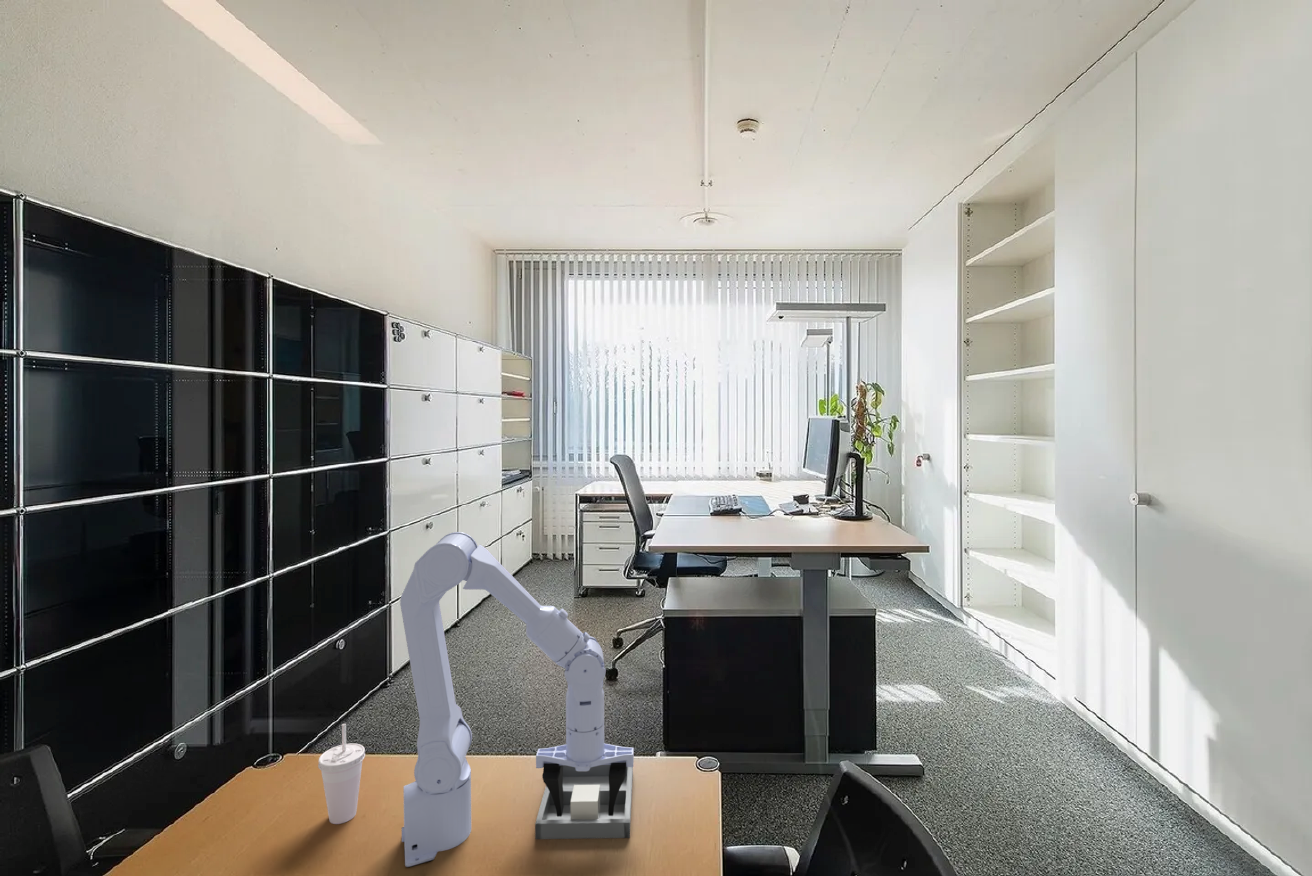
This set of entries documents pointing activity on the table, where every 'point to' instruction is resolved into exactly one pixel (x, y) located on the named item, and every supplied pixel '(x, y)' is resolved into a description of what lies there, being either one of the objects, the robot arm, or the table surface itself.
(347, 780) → the smoothie
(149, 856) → the table surface
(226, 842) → the table surface
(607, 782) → the divided tray
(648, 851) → the table surface
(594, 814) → the white block
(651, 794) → the table surface
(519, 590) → the robot arm
